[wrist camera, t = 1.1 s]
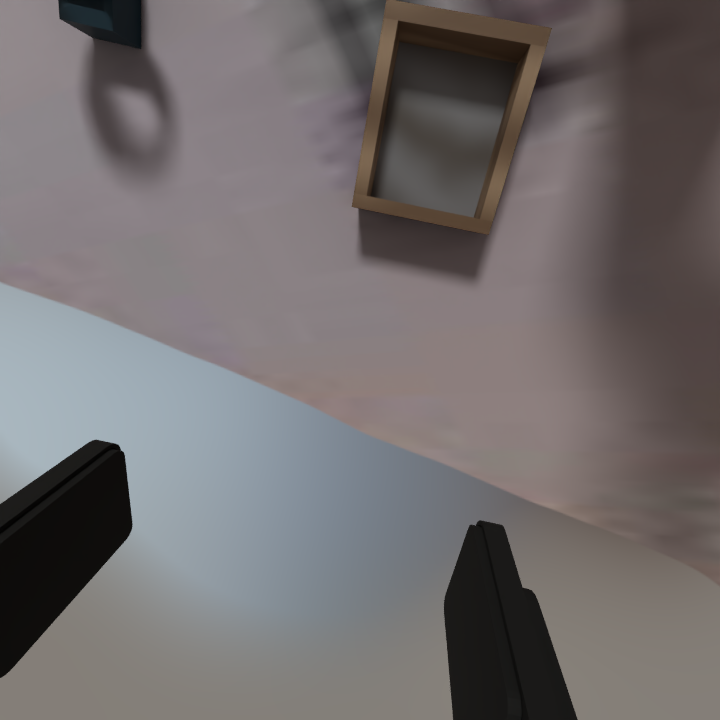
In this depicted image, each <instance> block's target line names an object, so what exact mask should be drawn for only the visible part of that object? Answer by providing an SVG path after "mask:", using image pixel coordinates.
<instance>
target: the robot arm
mask: <svg viewBox="0 0 720 720" xmlns="http://www.w3.org/2000/svg"><path fill="white" fill-rule="evenodd" d="M131 530H132V516H131V507H130V499H129V489H128V481H127V472H126V463H125V455H124V452H122V451H121V449H120V447H119V445H117V444H114V443H109V442H104V441H99V440H93V441H91V442H89V443H87V444H86V445H84V446H83V447H82V448H80V449H79V450H77V451H76V452H74V453H73V454H72V455H70V456H69V457H67V458H66V459H64V460H63V461H61V462H60V463H59V464H58V465H56V466H54V467H53V468H51V469H50V470H49V471H47V472H46V473H44V474H43V475H41V476H40V477H39V478H37V479H36V480H34V481H33V482H31V483H30V484H28V485H27V486H26V487H24V488H23V489H21V490H20V491H18V492H17V493H16V494H14V495H13V496H11V497H10V498H8V499H7V500H6V501H4V502H3V503H1V504H0V678H1V677H3V676H4V675H6V674H7V673H8V672H9V671H10V670H11V669H12V668H13V667H14V666H15V665H16V664H17V662H18V661H19V660H20V659H21V658H22V657H23V656H24V654H25V653H26V652H27V651H28V650H29V649H30V647H32V645H33V644H34V643H35V642H36V641H37V640H38V639H39V637H40V636H41V635H42V634H43V633H44V632H45V631H46V630H47V628H48V627H49V626H50V625H51V624H52V623H53V622H54V620H55V619H56V618H57V617H58V616H59V615H60V614H61V613H62V611H63V610H64V609H65V608H66V607H67V606H68V605H69V604H70V603H71V601H72V600H73V599H74V598H75V597H76V596H77V595H78V593H79V592H80V591H81V590H82V589H83V588H84V587H85V586H86V584H87V583H88V582H89V581H90V580H91V579H92V578H93V576H94V575H95V574H96V573H97V572H98V571H99V570H100V569H101V567H102V566H103V565H104V564H105V563H106V562H107V561H108V559H109V558H110V557H111V556H112V555H113V554H114V553H115V551H116V550H117V549H118V548H119V547H120V546H121V545H122V544H123V543H124V541H125V540H126V539H127V538H128V536H129V534H130V532H131ZM444 616H445V628H446V640H447V651H448V663H449V675H450V686H451V698H452V710H453V720H577V717H576V714H575V711H574V708H573V705H572V702H571V699H570V696H569V693H568V690H567V687H566V684H565V681H564V678H563V675H562V672H561V669H560V666H559V663H558V660H557V657H556V654H555V651H554V648H553V645H552V642H551V639H550V636H549V633H548V630H547V627H546V624H545V621H544V618H543V615H542V612H541V609H540V606H539V603H538V600H537V598H536V596H535V594H534V593H533V592H532V590H529V589H526V588H522V584H521V581H520V578H519V575H518V571H517V568H516V565H515V561H514V558H513V555H512V551H511V548H510V545H509V542H508V538H507V535H506V532H505V529H504V527H503V526H502V525H499V524H495V523H490V522H485V521H478V522H477V524H476V526H475V525H470V526H469V528H468V531H467V534H466V537H465V539H464V542H463V546H462V548H461V551H460V554H459V557H458V560H457V563H456V566H455V569H454V572H453V575H452V577H451V580H450V583H449V586H448V589H447V592H446V595H445V600H444Z"/></svg>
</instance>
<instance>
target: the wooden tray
mask: <svg viewBox="0 0 720 720" xmlns="http://www.w3.org/2000/svg"><path fill="white" fill-rule="evenodd" d="M551 29H552V28H548V27H542V26H536V25H531V24H525V23H519V22H514V21H508V20H503V19H497V18H491V17H486V16H480V15H474V14H469V13H463V12H457V11H452V10H446V9H441V8H435V7H429V6H424V5H418V4H412V3H407V2H401V1H395V0H386V6H385V12H384V18H383V24H382V30H381V36H380V42H379V48H378V54H377V60H376V66H375V72H374V78H373V84H372V90H371V96H370V102H369V108H368V114H367V119H366V125H365V131H364V137H363V143H362V149H361V155H360V161H359V167H358V173H357V179H356V185H355V191H354V197H353V203H352V207H355V208H360V209H365V210H370V211H374V212H379V213H384V214H389V215H394V216H399V217H404V218H409V219H413V220H418V221H423V222H428V223H433V224H438V225H443V226H447V227H452V228H457V229H462V230H467V231H472V232H477V233H482V234H487V235H489V232H490V228H491V225H492V222H493V219H494V215H495V212H496V209H497V206H498V202H499V199H500V196H501V193H502V189H503V186H504V183H505V179H506V176H507V173H508V170H509V166H510V163H511V160H512V157H513V153H514V150H515V147H516V144H517V140H518V137H519V134H520V130H521V127H522V124H523V121H524V117H525V114H526V111H527V108H528V104H529V101H530V98H531V95H532V91H533V88H534V85H535V81H536V78H537V75H538V72H539V68H540V65H541V62H542V59H543V55H544V52H545V49H546V46H547V42H548V39H549V36H550V32H551Z"/></svg>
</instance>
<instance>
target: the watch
mask: <svg viewBox="0 0 720 720" xmlns="http://www.w3.org/2000/svg"><path fill="white" fill-rule="evenodd" d="M58 1H59V16H60V19H61V20H63V21H64V22H66V23H68V24H70V25H71V26H73V27H75V28H77V29H78V30H80V31H82V32H84V33H85V34H87V35H89V36H91V37H92V38H97V39H101V40H105V41H109V42H114V43H118V44H122V45H127V46H131V47H135V48H139V49H141V0H58Z"/></svg>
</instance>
